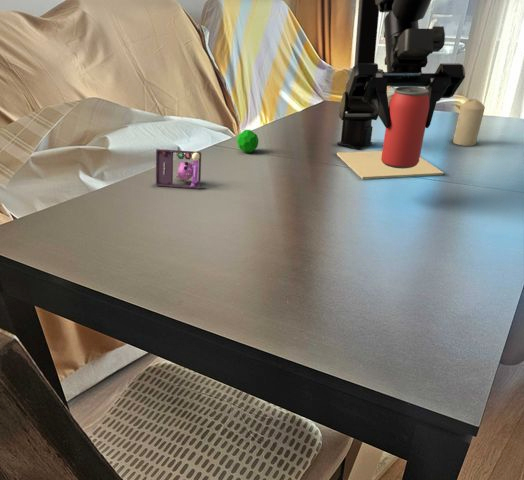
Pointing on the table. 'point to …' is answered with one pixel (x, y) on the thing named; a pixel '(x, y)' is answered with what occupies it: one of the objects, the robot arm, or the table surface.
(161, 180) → the packaged toy box
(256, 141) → the polyhedron
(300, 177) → the table surface
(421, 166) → the centre mat
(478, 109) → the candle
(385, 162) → the beer can
